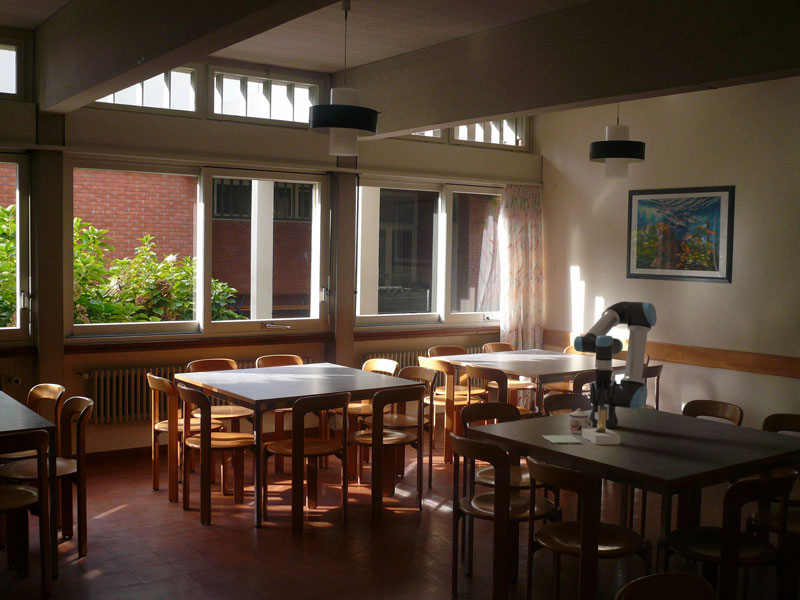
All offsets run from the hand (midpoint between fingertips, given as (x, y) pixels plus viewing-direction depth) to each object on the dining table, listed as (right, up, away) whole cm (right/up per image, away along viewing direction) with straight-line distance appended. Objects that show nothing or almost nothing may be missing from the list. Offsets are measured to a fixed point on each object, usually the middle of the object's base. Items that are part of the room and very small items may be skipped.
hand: (601, 418), depth 380 cm
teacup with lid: (-6, -10, +17) cm, 20 cm away
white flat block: (0, -10, 0) cm, 10 cm away
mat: (-19, -10, -3) cm, 22 cm away
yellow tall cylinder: (0, -6, 0) cm, 6 cm away
